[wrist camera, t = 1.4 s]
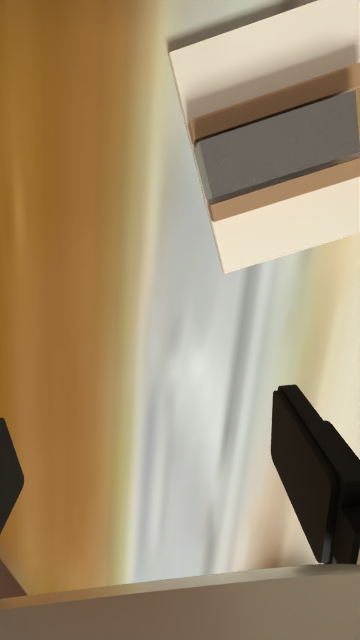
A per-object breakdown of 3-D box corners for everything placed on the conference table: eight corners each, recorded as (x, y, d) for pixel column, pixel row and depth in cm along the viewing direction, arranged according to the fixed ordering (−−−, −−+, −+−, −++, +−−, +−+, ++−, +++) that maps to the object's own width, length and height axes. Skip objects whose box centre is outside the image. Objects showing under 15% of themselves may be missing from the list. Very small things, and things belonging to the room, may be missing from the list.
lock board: (457, -42, 23) (534, -107, 19) (453, 201, 30) (509, 200, 25) (169, 59, 25) (170, 23, 20) (222, 271, 31) (233, 283, 26)
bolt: (334, 104, 25) (363, 86, 22) (339, 157, 27) (368, 149, 23) (193, 150, 26) (198, 141, 22) (206, 199, 27) (212, 198, 24)
